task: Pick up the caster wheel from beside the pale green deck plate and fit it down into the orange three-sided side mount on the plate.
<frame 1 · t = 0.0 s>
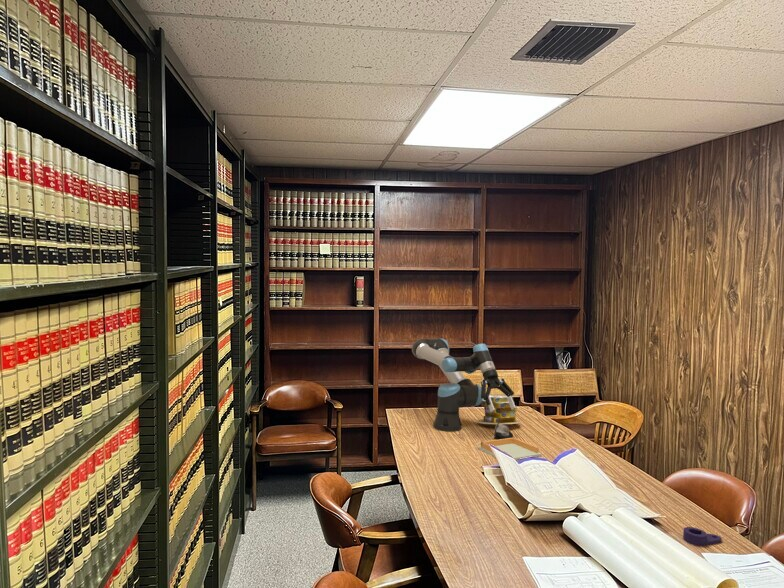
hand: (503, 409, 264), 15 cm above the table, tool tilted 35°, fingers open, 13 cm apart
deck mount: (509, 452, 244), on the table
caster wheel: (503, 439, 266), on the table
lever: (702, 542, 164), on the table
stacked cans on tray: (498, 425, 294), on the table
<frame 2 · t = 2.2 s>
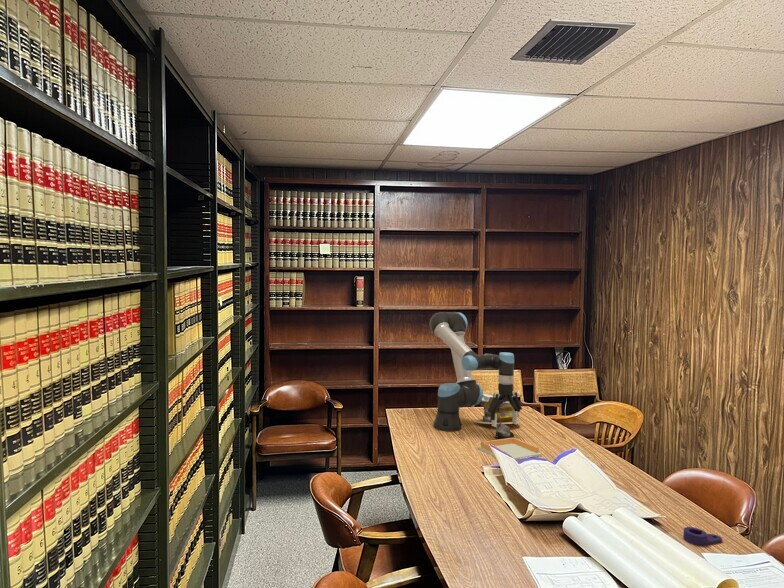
hand: (504, 425, 265), 7 cm above the table, tool pointing down, fingers open, 13 cm apart
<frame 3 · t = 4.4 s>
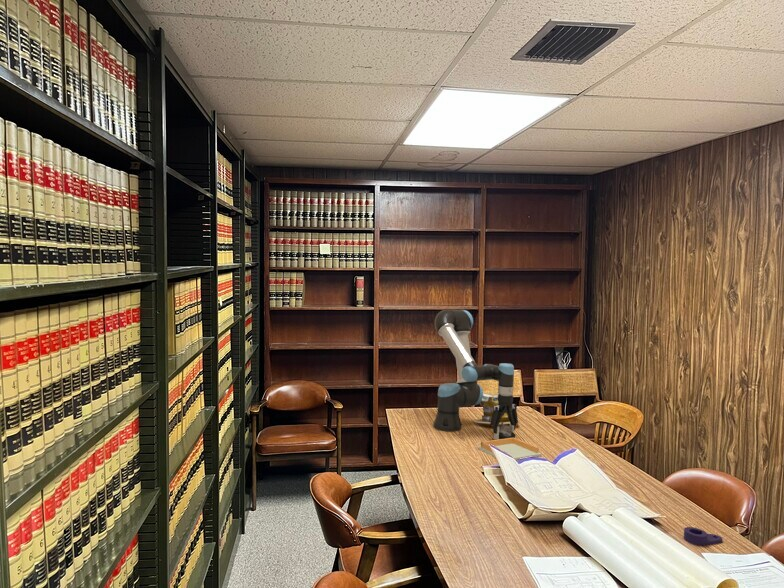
hand: (503, 438, 266), 0 cm above the table, tool pointing down, fingers open, 9 cm apart
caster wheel: (506, 440, 265), on the table, touching gripper
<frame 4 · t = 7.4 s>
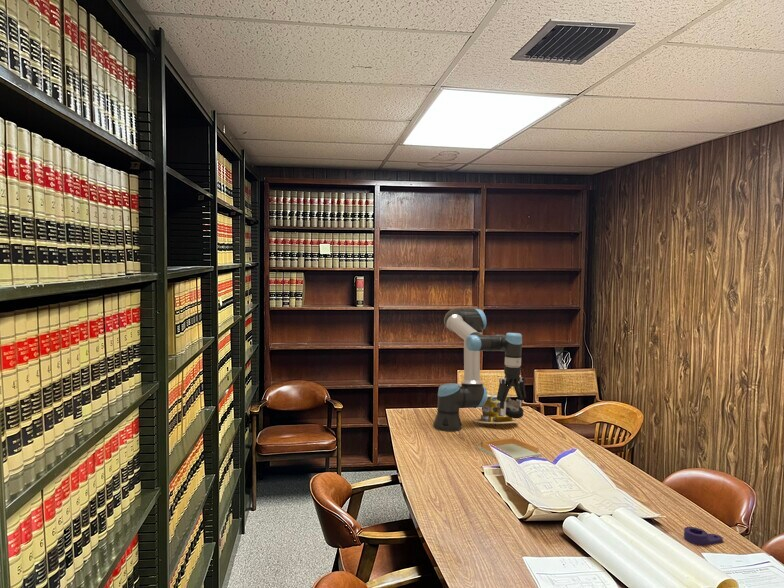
hand: (510, 414, 245), 18 cm above the table, tool pointing down, fingers closed on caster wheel, 9 cm apart
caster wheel: (513, 416, 244), point 17 cm above the table, touching gripper
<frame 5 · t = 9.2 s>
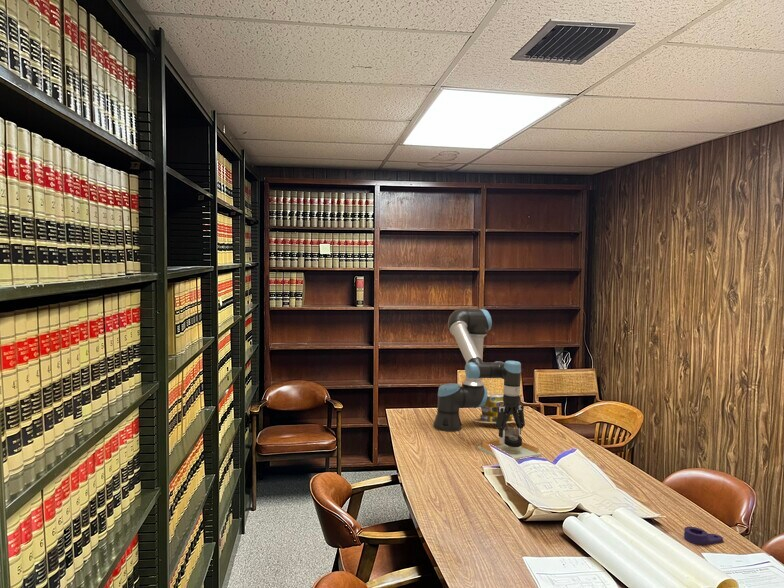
hand: (509, 442, 244), 5 cm above the table, tool pointing down, fingers closed on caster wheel, 9 cm apart
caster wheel: (512, 444, 244), point 4 cm above the table, touching gripper
when the fingers open (3 cm above the table, at t = 10.3 s): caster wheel drops 1 cm, resting on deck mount.
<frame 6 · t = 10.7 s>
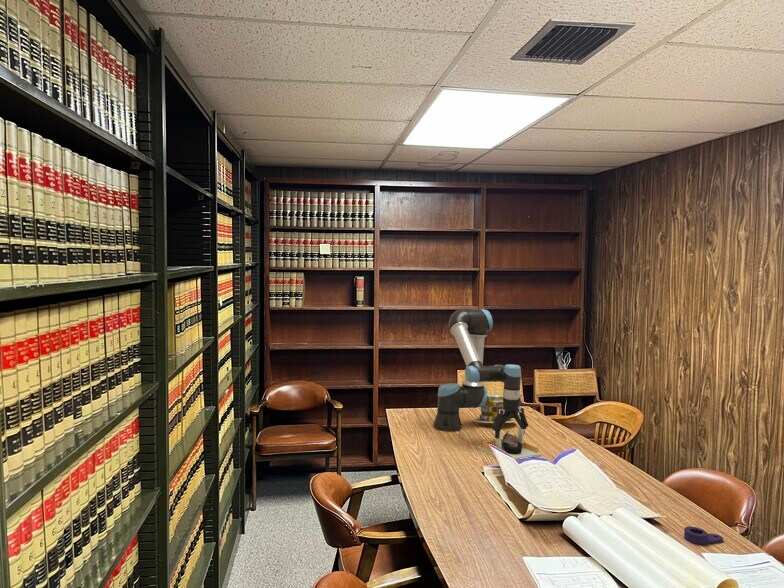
hand: (509, 443, 244), 4 cm above the table, tool pointing down, fingers open, 13 cm apart
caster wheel: (512, 451, 244), point 1 cm above the table, touching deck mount
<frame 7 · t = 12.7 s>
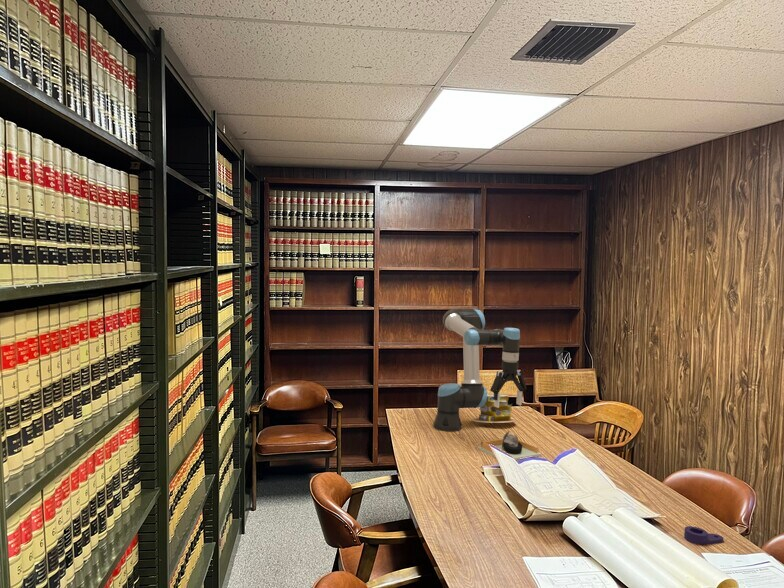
hand: (507, 405, 247), 21 cm above the table, tool pointing down, fingers open, 13 cm apart
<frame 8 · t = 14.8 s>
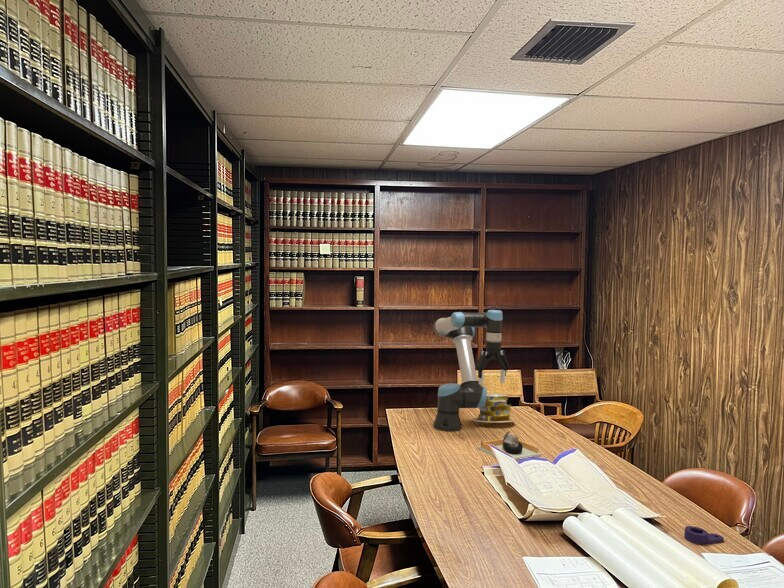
hand: (491, 383, 261), 29 cm above the table, tool pointing down, fingers open, 13 cm apart
at the end: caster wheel inside the target area on the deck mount (1.4 cm from its centre), point 1.0 cm above the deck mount's base; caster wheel tilted 0°; the gripper is holding nothing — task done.
